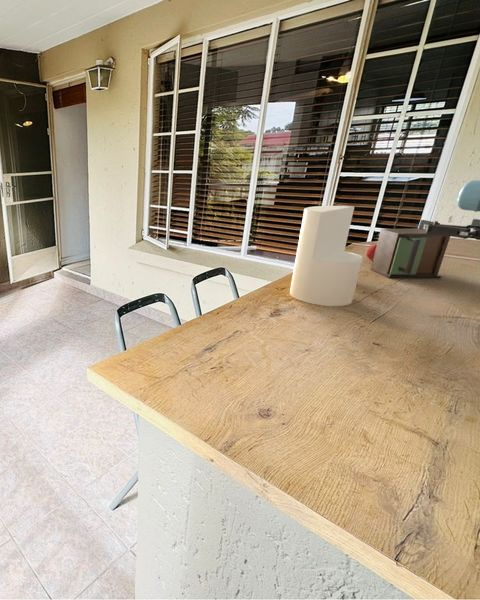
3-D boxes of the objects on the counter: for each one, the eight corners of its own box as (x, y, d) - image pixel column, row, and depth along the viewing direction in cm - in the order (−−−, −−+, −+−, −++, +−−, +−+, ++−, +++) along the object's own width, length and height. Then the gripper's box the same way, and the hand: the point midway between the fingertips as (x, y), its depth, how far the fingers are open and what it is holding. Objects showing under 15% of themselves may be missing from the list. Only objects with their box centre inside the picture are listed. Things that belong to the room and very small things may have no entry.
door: (425, 278, 121) (438, 239, 117) (399, 278, 123) (410, 240, 118) (414, 274, 126) (425, 236, 122) (389, 273, 128) (399, 236, 123)
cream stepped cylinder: (278, 294, 118) (292, 209, 108) (309, 284, 125) (325, 204, 115) (332, 310, 104) (354, 214, 94) (364, 298, 111) (387, 208, 101)
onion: (362, 261, 149) (367, 242, 146) (366, 258, 152) (370, 240, 149) (379, 263, 144) (384, 244, 142) (383, 261, 148) (388, 242, 145)
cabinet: (440, 278, 124) (455, 233, 119) (389, 278, 127) (401, 234, 122) (417, 269, 135) (429, 228, 129) (370, 269, 138) (380, 229, 132)
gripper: (450, 252, 91) (396, 236, 110) (568, 251, 86) (490, 235, 106) (460, 223, 88) (403, 212, 108) (582, 221, 84) (500, 210, 103)
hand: (446, 224), depth 107 cm, fingers open, 13 cm apart
